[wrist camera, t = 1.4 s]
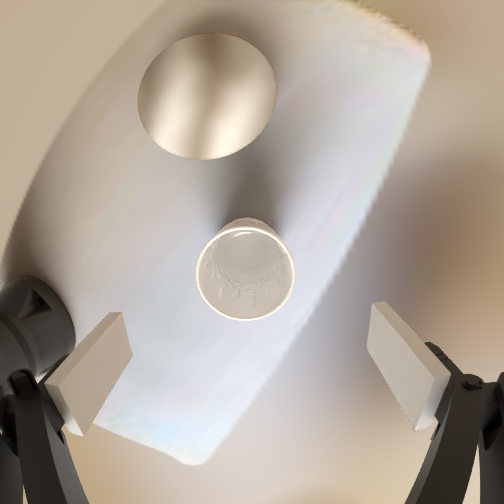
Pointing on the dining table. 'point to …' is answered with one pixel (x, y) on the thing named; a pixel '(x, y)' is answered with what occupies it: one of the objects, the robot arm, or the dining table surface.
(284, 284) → the white cup
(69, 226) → the dining table surface
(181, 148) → the cake stand
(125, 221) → the dining table surface
